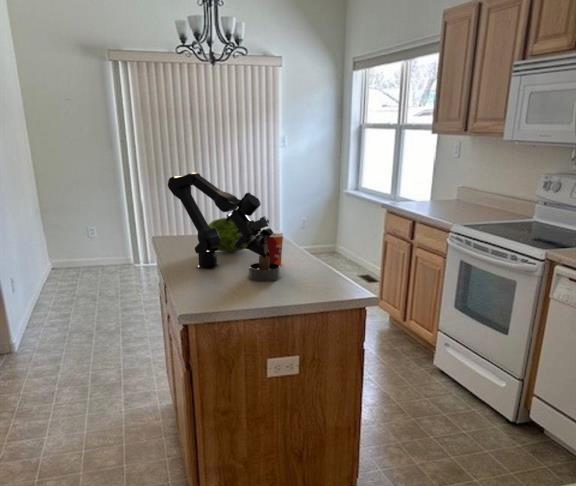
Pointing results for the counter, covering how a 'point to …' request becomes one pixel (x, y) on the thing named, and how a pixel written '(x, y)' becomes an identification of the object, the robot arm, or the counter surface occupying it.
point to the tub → (264, 273)
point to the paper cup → (275, 247)
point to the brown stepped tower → (264, 259)
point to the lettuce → (227, 234)
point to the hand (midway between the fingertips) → (267, 256)
